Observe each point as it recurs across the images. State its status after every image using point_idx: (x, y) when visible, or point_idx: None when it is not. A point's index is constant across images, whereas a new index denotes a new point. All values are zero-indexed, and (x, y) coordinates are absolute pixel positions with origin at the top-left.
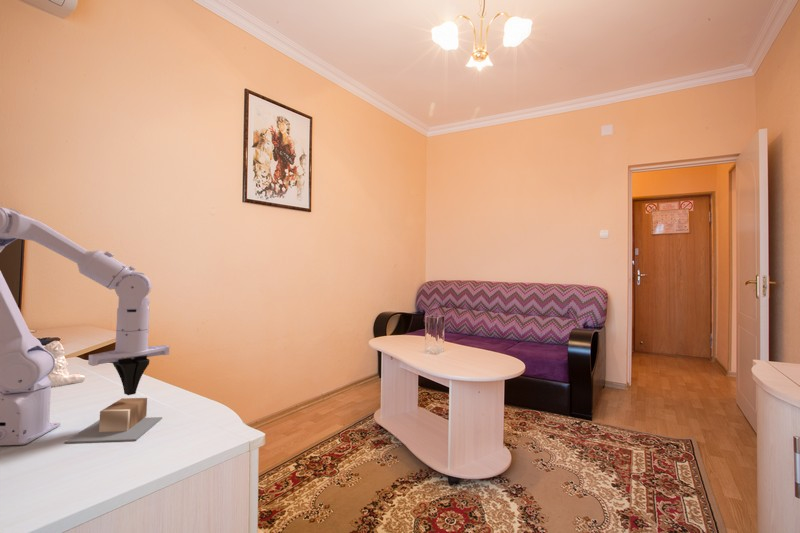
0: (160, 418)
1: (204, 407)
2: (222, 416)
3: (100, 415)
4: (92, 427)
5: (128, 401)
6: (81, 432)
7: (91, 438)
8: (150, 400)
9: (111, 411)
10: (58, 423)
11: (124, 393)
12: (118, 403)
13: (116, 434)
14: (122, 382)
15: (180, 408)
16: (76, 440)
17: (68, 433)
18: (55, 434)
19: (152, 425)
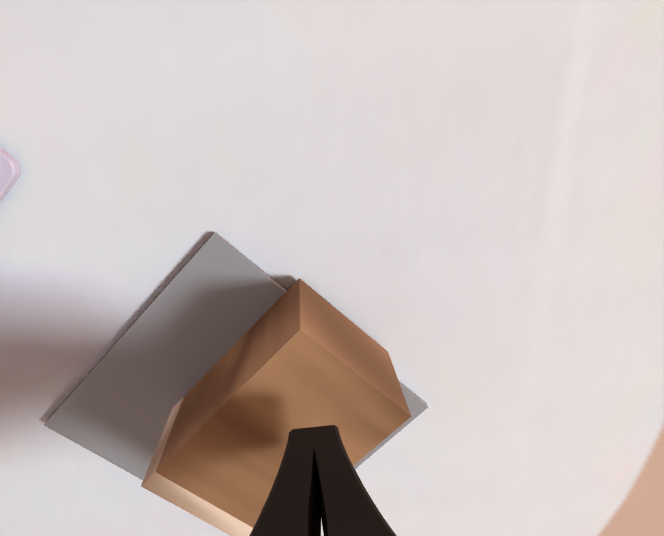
0: (414, 418)
1: (622, 386)
2: (579, 518)
3: (151, 467)
4: (158, 335)
5: (308, 414)
6: (109, 366)
7: (136, 455)
8: (553, 43)
9: (190, 511)
10: (4, 174)
11: (289, 435)
12: (252, 416)
13: None
14: (272, 496)
15: (555, 326)
16: (85, 440)
17: (63, 314)
18: (9, 287)
19: (356, 466)
